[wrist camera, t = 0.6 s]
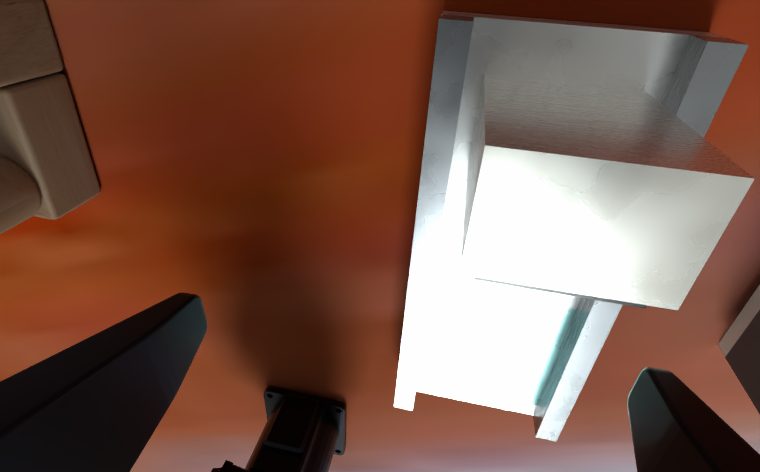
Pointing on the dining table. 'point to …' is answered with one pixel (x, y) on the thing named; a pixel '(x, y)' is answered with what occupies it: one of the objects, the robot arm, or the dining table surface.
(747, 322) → the white rectangular block
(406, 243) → the dining table surface
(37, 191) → the beige frame piece
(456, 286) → the rail
